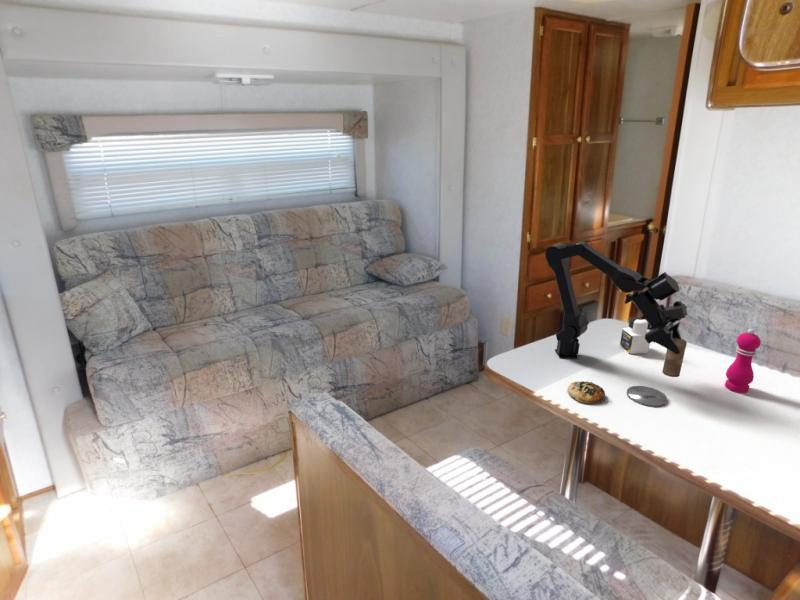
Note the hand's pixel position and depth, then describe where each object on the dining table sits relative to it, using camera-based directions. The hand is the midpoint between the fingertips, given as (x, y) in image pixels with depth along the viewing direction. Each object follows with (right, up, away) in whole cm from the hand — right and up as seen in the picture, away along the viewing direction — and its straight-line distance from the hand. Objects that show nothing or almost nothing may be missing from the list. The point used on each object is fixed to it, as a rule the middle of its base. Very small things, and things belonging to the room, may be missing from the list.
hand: (680, 350), depth 160 cm
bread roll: (-29, -14, -1) cm, 32 cm away
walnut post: (-1, -7, +4) cm, 8 cm away
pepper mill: (+20, -12, +5) cm, 24 cm away
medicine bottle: (-1, -3, +31) cm, 31 cm away
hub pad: (-11, -14, -2) cm, 18 cm away
